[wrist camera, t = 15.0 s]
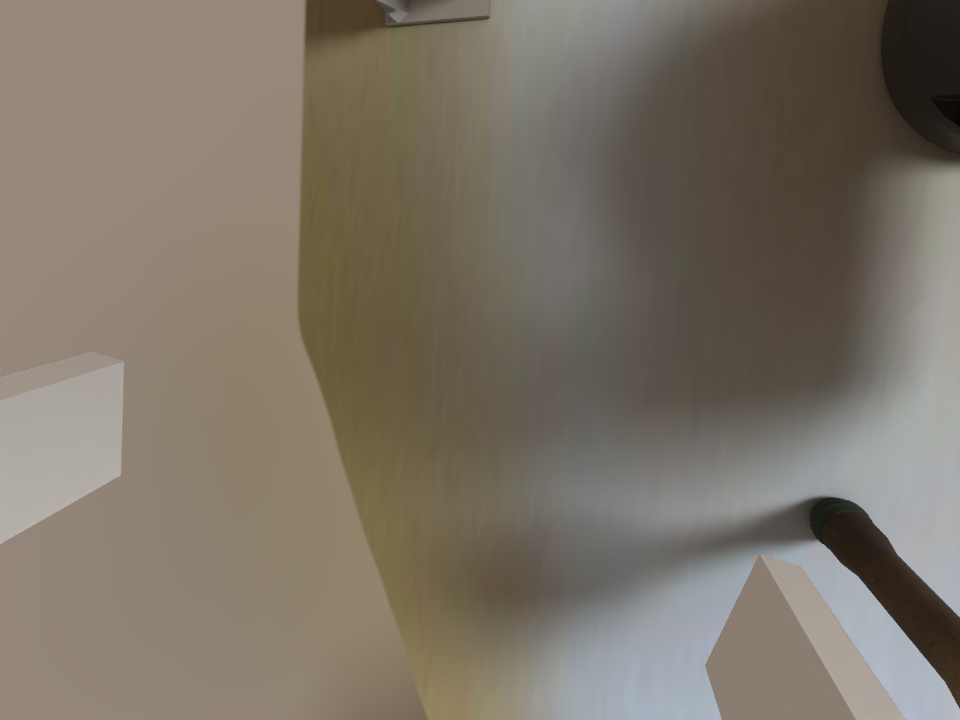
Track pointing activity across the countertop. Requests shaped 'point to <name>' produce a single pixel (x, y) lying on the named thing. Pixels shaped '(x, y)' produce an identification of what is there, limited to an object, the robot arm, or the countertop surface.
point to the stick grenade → (892, 584)
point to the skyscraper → (432, 11)
